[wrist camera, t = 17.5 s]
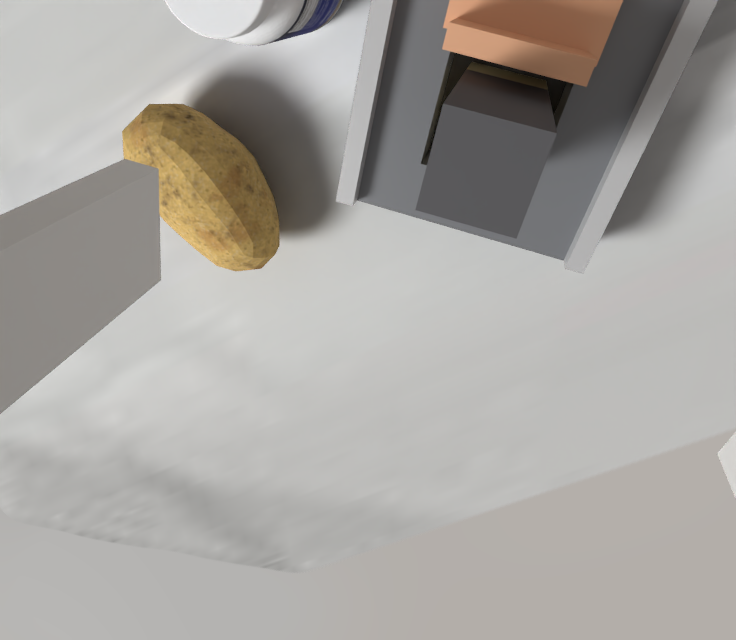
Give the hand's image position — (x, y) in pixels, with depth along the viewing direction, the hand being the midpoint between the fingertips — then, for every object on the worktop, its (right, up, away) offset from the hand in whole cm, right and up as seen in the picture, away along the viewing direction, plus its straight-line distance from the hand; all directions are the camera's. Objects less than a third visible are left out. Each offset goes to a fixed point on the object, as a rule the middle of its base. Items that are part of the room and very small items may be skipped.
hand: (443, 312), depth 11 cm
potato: (-10, +9, +24) cm, 28 cm away
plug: (+5, +11, +18) cm, 22 cm away
